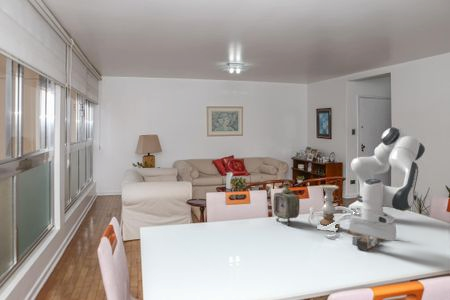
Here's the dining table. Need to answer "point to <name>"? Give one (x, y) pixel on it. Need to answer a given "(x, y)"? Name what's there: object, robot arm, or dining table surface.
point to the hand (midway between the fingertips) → (371, 245)
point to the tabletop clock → (286, 204)
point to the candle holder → (328, 206)
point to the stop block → (356, 240)
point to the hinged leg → (365, 243)
